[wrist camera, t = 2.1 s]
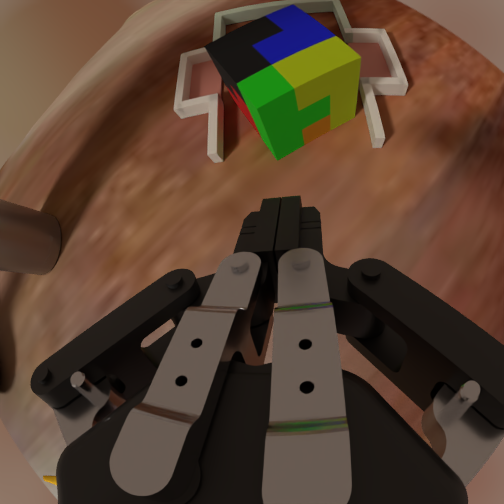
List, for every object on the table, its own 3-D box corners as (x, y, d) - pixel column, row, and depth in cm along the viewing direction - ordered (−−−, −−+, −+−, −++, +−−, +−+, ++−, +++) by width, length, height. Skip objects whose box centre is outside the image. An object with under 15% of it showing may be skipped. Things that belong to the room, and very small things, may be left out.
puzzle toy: (303, 63, 31) (293, 4, 21) (354, 117, 29) (361, 57, 19) (233, 100, 32) (204, 46, 23) (277, 160, 30) (256, 108, 20)
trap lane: (420, 147, 27) (425, 138, 24) (177, 169, 33) (168, 162, 31) (367, 7, 30) (367, -3, 28) (192, 29, 36) (186, 20, 34)
